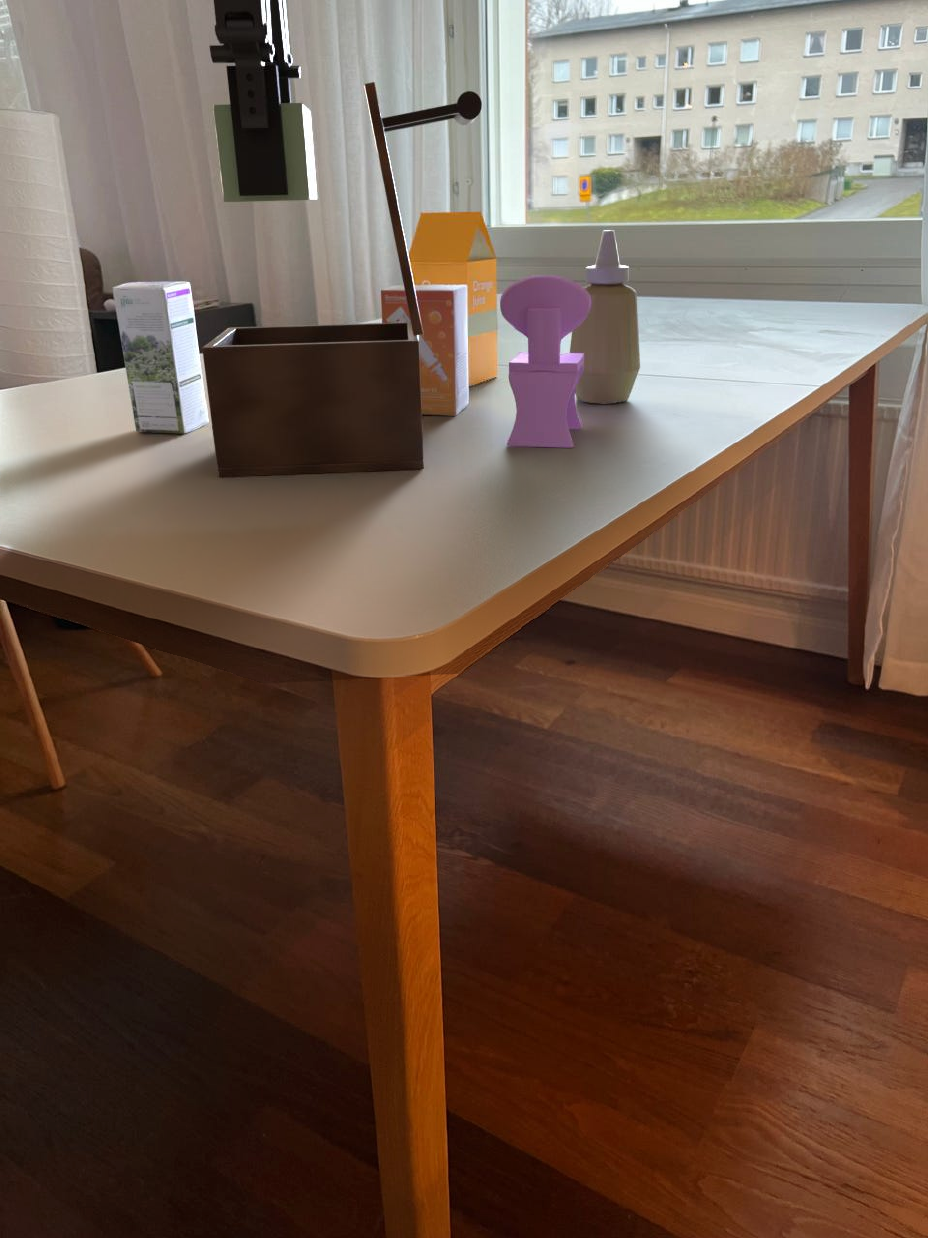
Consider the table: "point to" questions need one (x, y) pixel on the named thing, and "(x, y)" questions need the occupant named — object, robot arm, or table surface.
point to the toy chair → (545, 358)
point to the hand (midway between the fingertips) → (270, 194)
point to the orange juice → (462, 278)
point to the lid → (460, 111)
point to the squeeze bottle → (608, 330)
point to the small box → (437, 343)
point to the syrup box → (161, 356)
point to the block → (296, 155)
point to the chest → (315, 399)
